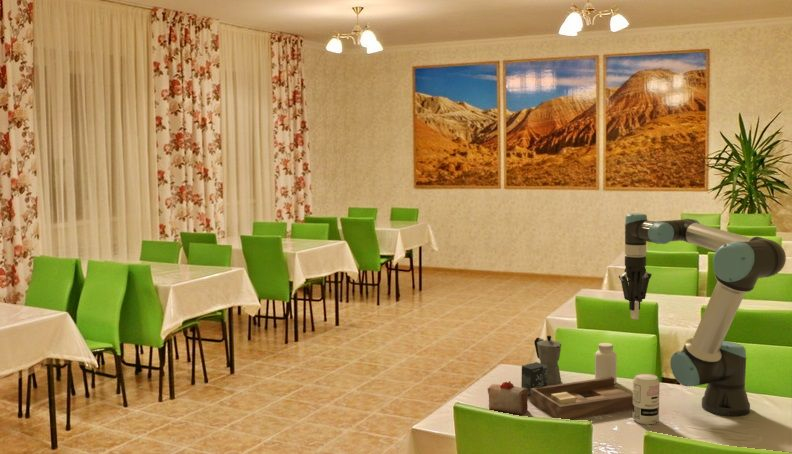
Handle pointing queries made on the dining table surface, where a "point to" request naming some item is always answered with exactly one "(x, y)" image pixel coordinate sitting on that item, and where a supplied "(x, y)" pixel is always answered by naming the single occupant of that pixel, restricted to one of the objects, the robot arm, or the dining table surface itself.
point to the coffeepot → (549, 358)
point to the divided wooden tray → (583, 399)
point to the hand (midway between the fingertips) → (634, 318)
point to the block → (563, 398)
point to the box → (534, 376)
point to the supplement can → (646, 398)
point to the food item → (508, 398)
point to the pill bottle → (605, 362)
